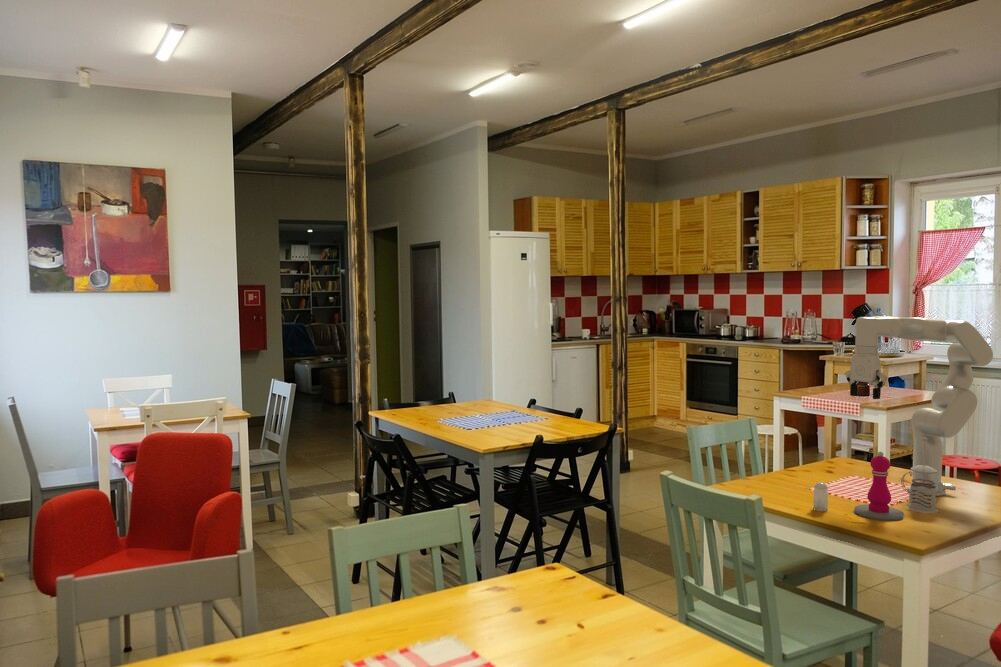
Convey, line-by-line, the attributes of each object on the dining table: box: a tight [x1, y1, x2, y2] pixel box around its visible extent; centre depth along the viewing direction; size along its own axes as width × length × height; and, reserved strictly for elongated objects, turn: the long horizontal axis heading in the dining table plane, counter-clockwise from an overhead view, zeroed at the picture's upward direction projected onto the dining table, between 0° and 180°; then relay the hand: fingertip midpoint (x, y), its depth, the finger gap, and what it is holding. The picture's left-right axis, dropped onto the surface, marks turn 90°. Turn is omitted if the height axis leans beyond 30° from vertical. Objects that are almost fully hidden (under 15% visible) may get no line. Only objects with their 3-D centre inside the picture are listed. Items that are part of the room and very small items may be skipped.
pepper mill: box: [866, 451, 892, 513], centre depth 258 cm, size 7×7×20 cm
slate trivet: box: [853, 504, 905, 522], centre depth 258 cm, size 15×15×1 cm
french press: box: [901, 437, 939, 514], centre depth 265 cm, size 10×12×25 cm
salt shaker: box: [813, 481, 829, 512], centre depth 263 cm, size 4×4×10 cm
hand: (864, 397), depth 281 cm, fingers open, 9 cm apart
